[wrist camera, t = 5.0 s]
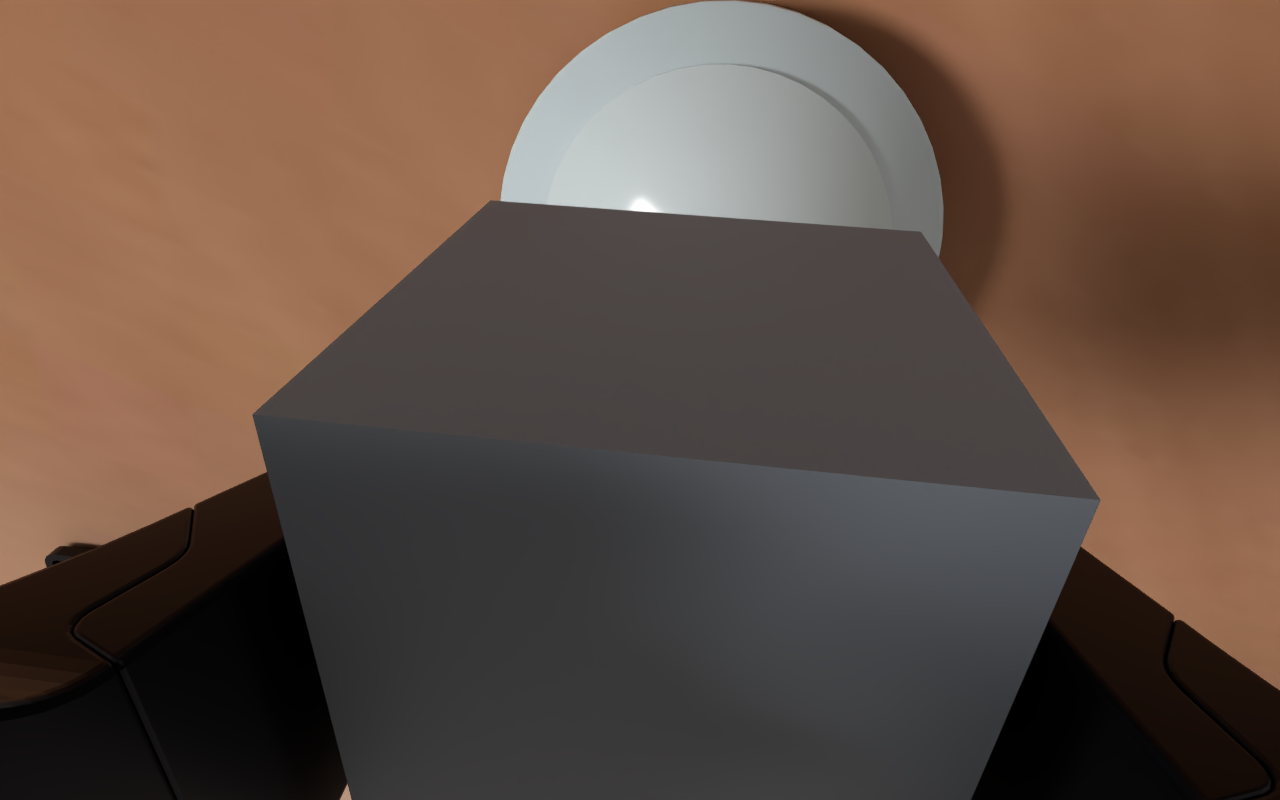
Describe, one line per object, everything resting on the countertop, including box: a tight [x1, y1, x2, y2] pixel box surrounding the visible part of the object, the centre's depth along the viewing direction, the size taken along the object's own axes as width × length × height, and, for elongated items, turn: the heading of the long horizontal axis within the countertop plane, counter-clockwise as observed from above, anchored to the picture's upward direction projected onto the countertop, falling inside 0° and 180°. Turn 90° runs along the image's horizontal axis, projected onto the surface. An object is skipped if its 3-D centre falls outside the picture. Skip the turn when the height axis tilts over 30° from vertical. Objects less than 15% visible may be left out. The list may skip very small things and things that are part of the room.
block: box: [252, 200, 1100, 800], centre depth 8 cm, size 5×5×5 cm
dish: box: [501, 0, 944, 258], centre depth 16 cm, size 9×9×1 cm
